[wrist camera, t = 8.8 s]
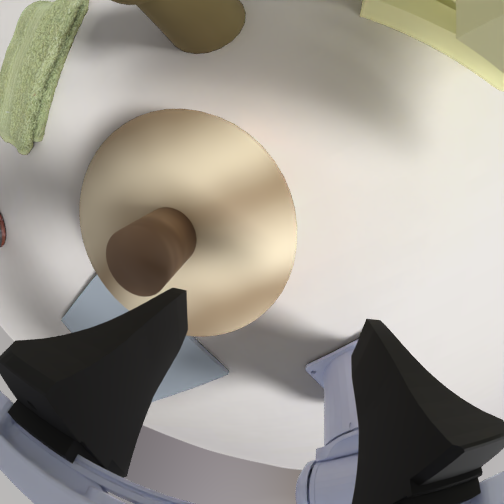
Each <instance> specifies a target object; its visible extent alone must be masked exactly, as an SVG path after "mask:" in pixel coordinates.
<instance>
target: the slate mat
mask: <svg viewBox="0 0 504 504" xmlns="http://www.w3.org/2000/svg"><path fill="white" fill-rule="evenodd" d="M128 311H129V310H128V309H126V308H125V307H124V306H123V305H122V304H121V303H120V302H119V301H118V300H116V299H115V298H114V296H113V295H112V294H111V293H110V292H109V291H108V289H107V288H106V287H105V285H104V284H103V283H102V281H101V280H100V278H99V277H98V275H96V276H95V277H94V278H93V280H92V281H91V282H90V283H89V285H88V286H87V287H86V288H85V290H84V291H83V292H82V293H81V295H80V296H79V297H78V299H77V300H76V301H75V302H74V304H73V305H72V306H71V308H70V309H69V310H68V312H67V313H66V314H65V316H64V317H63V318H62V320H61V321H62V322H63V323H64V324H65V325H66V327H67V328H68V329H69V330H70V331H71V332H72V333H74V332H77V331H81V330H84V329H88V328H91V327H94V326H96V325H99V324H102V323H104V322H107V321H109V320H111V319H114V318H116V317H118V316H120V315H122V314H124V313H126V312H128ZM228 373H229V370H228V369H226V368H225V367H224V366H223V365H222V364H221V363H220V362H219V361H218V360H217V359H216V358H214V357H213V356H212V355H211V354H210V353H209V352H208V351H207V350H206V349H205V348H204V347H203V346H202V345H201V344H200V343H199V342H198V341H197V340H196V339H195V338H194V337H193V336H187V335H186V336H185V339H184V341H183V344H182V346H181V349H180V351H179V352H178V354H177V356H176V358H175V360H174V361H173V363H172V365H171V367H170V368H169V370H168V372H167V373H166V375H165V377H164V379H163V380H162V382H161V384H160V386H159V387H158V389H157V391H156V393H155V395H154V397H153V399H152V402H153V401H156V400H159V399H163V398H166V397H169V396H172V395H175V394H177V393H180V392H183V391H186V390H189V389H192V388H194V387H197V386H200V385H202V384H205V383H208V382H210V381H213V380H215V379H218V378H220V377H223V376H225V375H228Z"/></svg>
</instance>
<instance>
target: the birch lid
mask: <svg viewBox="0 0 504 504" xmlns="http://www.w3.org/2000/svg"><path fill="white" fill-rule="evenodd" d="M79 217H80V227H81V233H82V238H83V242H84V245H85V249H86V252H87V255H88V257H89V259H90V261H91V264H92V266H93V268H94V270H95V271H96V273H97V275H98V277H99V278H100V280H101V281H102V283H103V284H104V285H105V287H106V288H107V289H108V291H109V292H110V293H111V294H112V295H113V296H114V298H115V299H116V300H118V301H119V302H120V303H121V304H122V305H123V306H124V307H125V308H126V309H128V310H129V311H130V310H132V309H134V308H136V307H138V306H140V305H141V304H143V303H145V302H147V301H149V300H151V299H152V298H154V297H156V296H158V295H159V294H161V293H163V292H165V291H167V290H169V289H171V288H178V289H183V290H187V317H188V331H187V334H186V335H187V336H203V337H205V336H215V335H221V334H225V333H229V332H232V331H235V330H237V329H240V328H242V327H244V326H246V325H248V324H250V323H251V322H253V321H255V320H256V319H257V318H259V317H260V316H261V315H263V314H264V313H265V312H266V311H267V310H268V309H269V308H270V307H271V306H272V305H273V304H274V302H275V301H276V300H277V298H278V297H279V295H280V294H281V293H282V291H283V289H284V287H285V285H286V283H287V281H288V279H289V276H290V273H291V270H292V267H293V264H294V259H295V253H296V245H297V222H296V214H295V208H294V204H293V200H292V196H291V193H290V190H289V188H288V186H287V183H286V181H285V178H284V176H283V174H282V173H281V171H280V169H279V168H278V166H277V164H276V163H275V161H274V160H273V159H272V157H271V156H270V155H269V154H268V152H267V151H266V150H265V149H264V148H263V146H262V145H260V144H259V143H258V142H257V141H256V140H255V139H254V138H253V137H252V136H251V135H250V134H248V133H247V132H245V131H244V130H242V129H241V128H239V127H238V126H236V125H235V124H233V123H231V122H229V121H227V120H224V119H222V118H220V117H217V116H214V115H211V114H208V113H204V112H201V111H195V110H188V109H164V110H159V111H154V112H150V113H147V114H144V115H141V116H138V117H136V118H134V119H132V120H131V121H129V122H127V123H125V124H124V125H122V126H121V127H120V128H118V129H117V130H116V131H114V132H113V133H112V134H111V135H110V136H109V137H108V138H107V139H106V140H105V141H104V142H103V144H102V145H101V146H100V148H99V149H98V150H97V152H96V153H95V155H94V157H93V159H92V161H91V162H90V164H89V167H88V169H87V172H86V174H85V177H84V181H83V185H82V189H81V195H80V206H79Z"/></svg>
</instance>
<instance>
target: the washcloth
mask: <svg viewBox="0 0 504 504" xmlns="http://www.w3.org/2000/svg"><path fill="white" fill-rule="evenodd" d="M88 4H89V0H56V1H55V2H49V1H37V2H34V3H32V4H30V5H29V6H27V7H26V8H25V9H24V11H23V12H22V14H21V16H20V18H19V20H18V23H17V26H16V29H15V32H14V35H13V38H12V40H11V42H10V44H9V46H8V48H7V51H6V54H5V58H4V61H3V65H2V68H1V72H0V136H1V137H2V139H3V140H4V141H5V142H7V143H8V142H9V143H11V144H12V145H14V146H15V147H16V148H17V150H18V152H19V153H20V154H22V155H27V154H29V153H30V150H31V148H32V147H33V141H34V142H40V141H42V139H43V135H44V131H45V126H46V123H47V119H48V113H49V109H50V106H51V103H52V100H53V96H54V92H55V88H56V86H57V83H58V79H59V77H60V74H61V71H62V68H63V64H64V63H65V60H66V58H67V54H68V52H69V50H70V48H71V46H72V43H73V40H74V37H75V35H76V33H77V31H78V28H79V27H80V25H81V23H82V20H83V18H84V16H85V15H86V13H87V11H88Z"/></svg>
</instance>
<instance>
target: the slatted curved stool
mask: <svg viewBox="0 0 504 504" xmlns="http://www.w3.org/2000/svg"><path fill="white" fill-rule="evenodd" d="M360 17H363V18H366V19H369V20H372V21H374V22H377V23H380V24H382V25H385V26H387V27H390V28H392V29H395V30H397V31H399V32H402V33H404V34H406V35H408V36H410V37H413V38H415V39H417V40H419V41H421V42H423V43H425V44H427V45H429V46H431V47H432V48H434V49H436V50H438V51H440V52H442V53H443V54H445V55H447V56H449V57H450V58H452V59H454V60H455V61H457V62H458V63H460V64H462V65H463V66H465V67H466V68H468V69H469V70H471V71H472V72H474V73H475V74H477V75H478V76H479V77H481V78H482V79H484V80H485V81H486V82H488V83H489V84H490V85H492V86H493V87H495V88H496V89H498V90H501V91H503V92H504V0H363V1H362V6H361V12H360Z"/></svg>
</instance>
